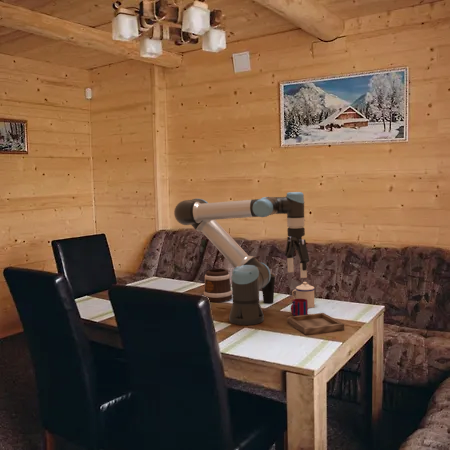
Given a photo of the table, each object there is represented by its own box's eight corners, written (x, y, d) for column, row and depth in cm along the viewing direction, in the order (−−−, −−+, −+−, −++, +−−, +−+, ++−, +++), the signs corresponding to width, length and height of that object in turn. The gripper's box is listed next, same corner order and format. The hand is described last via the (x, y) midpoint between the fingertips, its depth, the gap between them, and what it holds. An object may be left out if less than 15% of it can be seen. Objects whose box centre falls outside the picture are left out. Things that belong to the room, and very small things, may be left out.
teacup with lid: (318, 305, 239) (318, 281, 238) (307, 309, 232) (307, 285, 231) (297, 301, 247) (297, 278, 246) (287, 305, 241) (286, 281, 240)
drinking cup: (278, 301, 249) (278, 261, 247) (271, 305, 242) (270, 264, 241) (265, 299, 253) (264, 260, 251) (258, 303, 247) (257, 263, 245)
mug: (238, 299, 256) (237, 270, 254) (213, 304, 247) (212, 274, 246) (217, 292, 272) (217, 265, 271) (193, 296, 264) (192, 268, 263)
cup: (310, 315, 224) (310, 300, 223) (296, 319, 217) (295, 304, 216) (299, 312, 229) (299, 297, 228) (284, 316, 222) (284, 301, 222)
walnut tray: (305, 335, 196) (305, 329, 195) (287, 322, 213) (287, 316, 213) (344, 330, 200) (344, 324, 200) (323, 318, 218) (323, 312, 217)
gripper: (316, 229, 208) (317, 279, 210) (291, 224, 232) (292, 269, 234) (300, 230, 206) (301, 280, 208) (277, 225, 230) (278, 270, 232)
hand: (297, 274), depth 221 cm, fingers open, 13 cm apart
